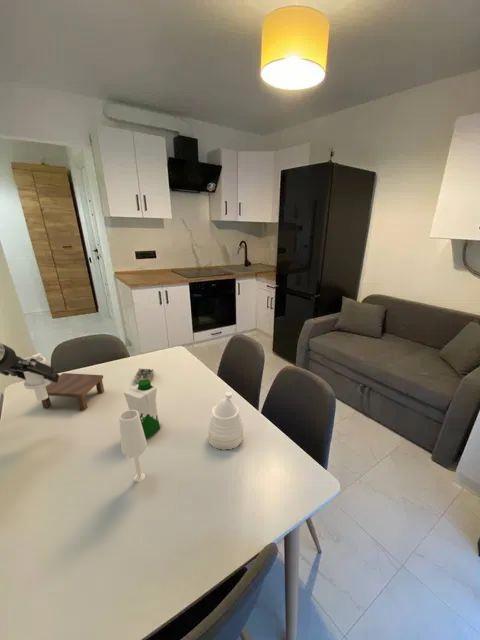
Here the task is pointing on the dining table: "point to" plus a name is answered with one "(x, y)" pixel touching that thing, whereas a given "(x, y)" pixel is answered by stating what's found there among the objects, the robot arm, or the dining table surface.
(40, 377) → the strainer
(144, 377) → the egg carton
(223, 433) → the honey pot
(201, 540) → the dining table surface
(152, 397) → the milk carton
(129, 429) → the champagne flute
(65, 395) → the low table
